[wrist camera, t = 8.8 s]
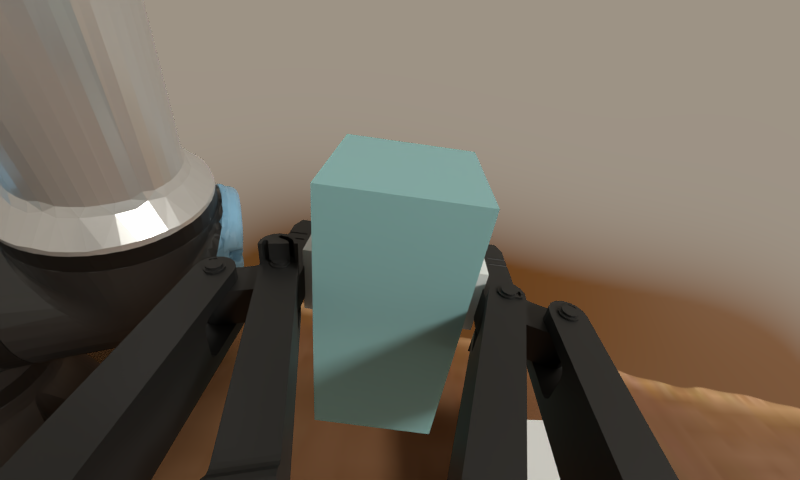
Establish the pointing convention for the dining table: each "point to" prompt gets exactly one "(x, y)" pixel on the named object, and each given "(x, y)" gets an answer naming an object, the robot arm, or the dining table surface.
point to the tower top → (539, 453)
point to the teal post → (393, 276)
